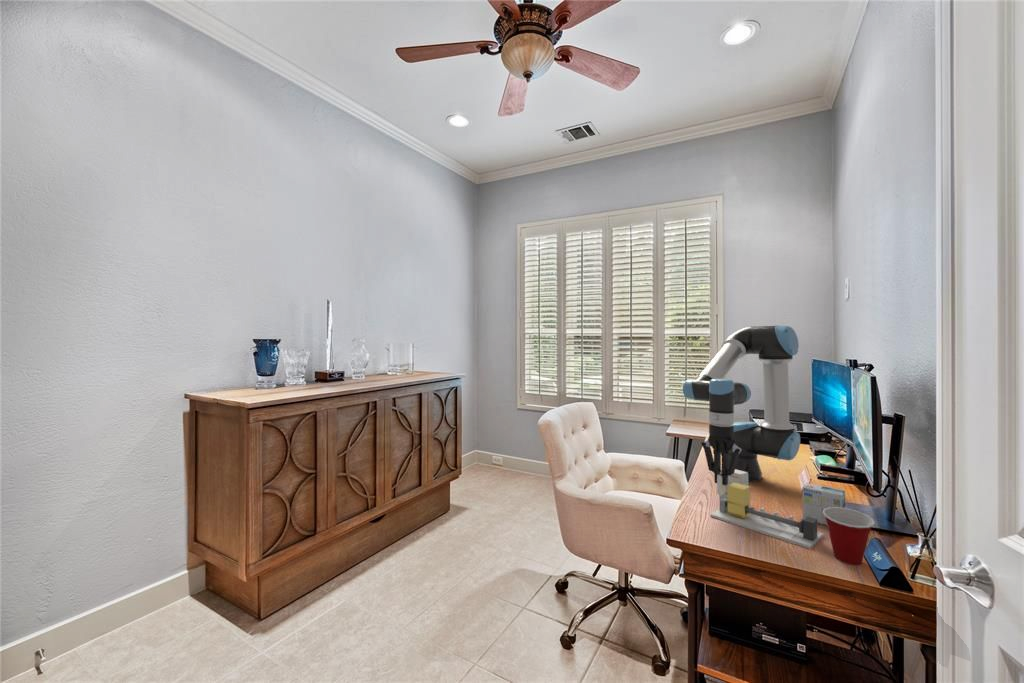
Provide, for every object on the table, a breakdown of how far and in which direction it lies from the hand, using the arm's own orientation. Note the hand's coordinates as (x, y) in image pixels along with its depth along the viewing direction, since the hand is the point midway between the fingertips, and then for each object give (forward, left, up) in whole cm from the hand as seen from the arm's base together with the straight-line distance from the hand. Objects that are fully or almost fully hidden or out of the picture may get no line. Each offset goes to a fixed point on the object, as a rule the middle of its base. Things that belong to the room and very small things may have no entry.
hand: (721, 493), depth 141 cm
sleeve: (0, +6, -5) cm, 8 cm away
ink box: (-12, -1, -7) cm, 14 cm away
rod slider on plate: (0, +13, -6) cm, 15 cm away
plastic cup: (+5, +35, -7) cm, 36 cm away
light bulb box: (-19, +24, -7) cm, 31 cm away
